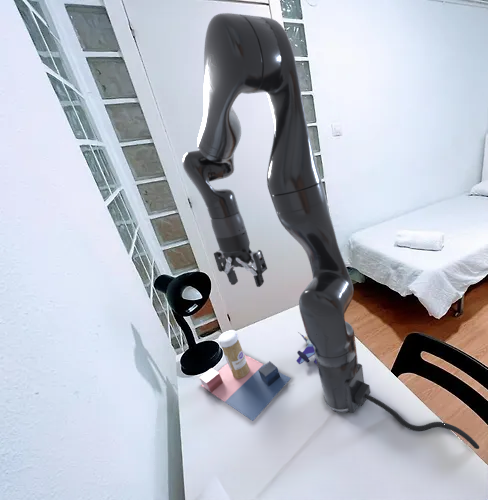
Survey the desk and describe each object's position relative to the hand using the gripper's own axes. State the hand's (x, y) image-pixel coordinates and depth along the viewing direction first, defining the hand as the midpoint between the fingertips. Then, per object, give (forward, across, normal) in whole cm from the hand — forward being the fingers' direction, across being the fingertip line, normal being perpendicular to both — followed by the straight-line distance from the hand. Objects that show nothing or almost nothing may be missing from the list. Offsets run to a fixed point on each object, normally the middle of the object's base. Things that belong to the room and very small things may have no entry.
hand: (247, 284), depth 78 cm
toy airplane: (+22, +17, -1) cm, 28 cm away
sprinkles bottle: (+22, 0, -12) cm, 25 cm away
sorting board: (+22, +3, -14) cm, 26 cm away
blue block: (+21, +9, -12) cm, 26 cm away
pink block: (+21, -6, -17) cm, 28 cm away
